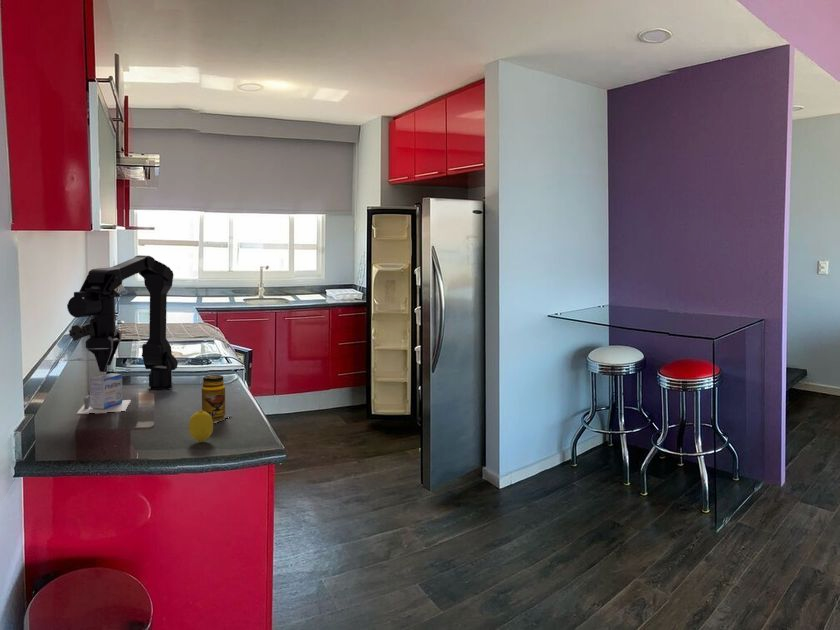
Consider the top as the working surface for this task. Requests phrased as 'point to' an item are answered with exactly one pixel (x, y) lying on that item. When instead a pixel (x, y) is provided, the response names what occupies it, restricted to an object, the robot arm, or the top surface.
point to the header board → (87, 409)
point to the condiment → (214, 397)
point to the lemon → (201, 425)
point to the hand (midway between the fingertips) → (105, 368)
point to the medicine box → (105, 391)
